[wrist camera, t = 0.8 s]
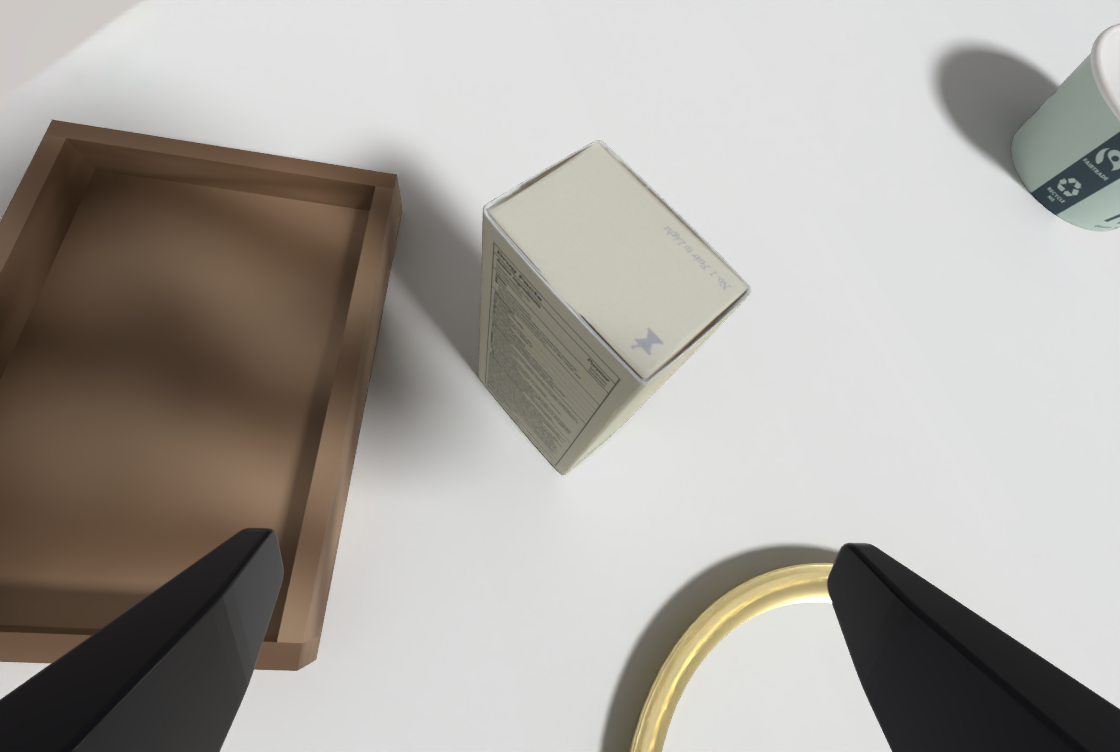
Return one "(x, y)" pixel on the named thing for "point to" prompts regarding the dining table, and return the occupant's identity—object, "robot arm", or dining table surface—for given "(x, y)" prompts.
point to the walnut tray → (179, 374)
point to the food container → (1078, 142)
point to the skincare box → (591, 300)
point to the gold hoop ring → (711, 629)
